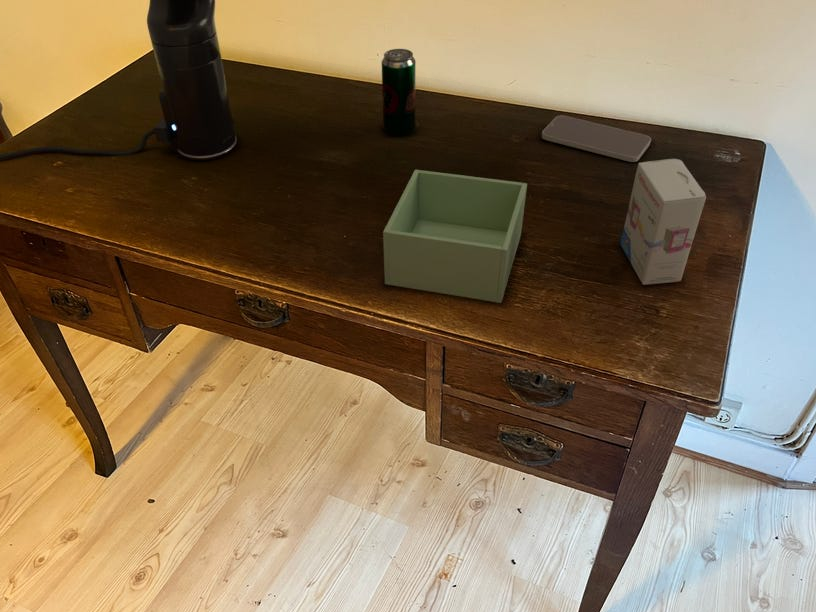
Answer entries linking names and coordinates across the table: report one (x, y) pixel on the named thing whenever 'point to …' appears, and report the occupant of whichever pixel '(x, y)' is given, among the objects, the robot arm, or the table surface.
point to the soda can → (398, 92)
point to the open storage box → (454, 235)
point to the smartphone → (597, 138)
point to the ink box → (662, 220)
